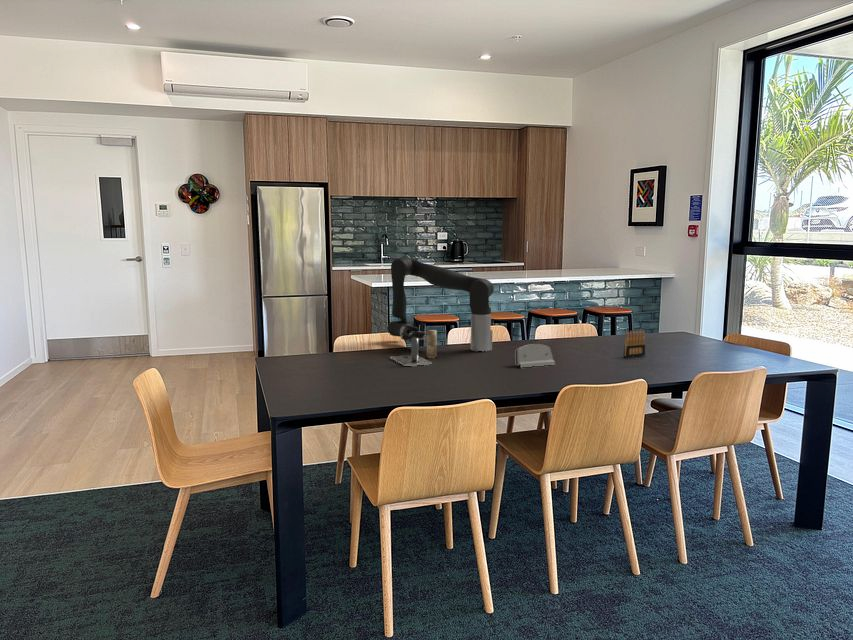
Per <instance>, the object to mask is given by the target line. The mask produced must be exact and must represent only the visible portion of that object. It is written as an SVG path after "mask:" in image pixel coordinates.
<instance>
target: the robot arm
mask: <svg viewBox="0 0 853 640" xmlns="http://www.w3.org/2000/svg"><path fill="white" fill-rule="evenodd" d="M390 273H391V283H392V286H391V288H392V304H391V305H392V306H391V315H392V317H393V318H397V319H400V320H396V321H394V320H392V321H390V322H389V323H388V324H387V327H386V328H387V333H388V334H389V333H390V334H389V336H393V337H398V338H399V337H400V339H402V340H404V341H408V342H410V343H411V338H419V340H427V330H425V331H421V329H420V328H419V327H417V326H415V325H413V324H409V323H408V320H407V303H408V302H407V296H406V291H405V278H406V276H413V277H419V278H421V279H423V280H424V281H426V282H427V283H428V284H430V285H433V286H436V287H439V288H442V289H446V290H452V291H453V290H455V291H464V292H467V293H469V296H468V297H469V308H470V309H469V310H470V351H473V352H478V351H482V352H484V351H485V352H490V351H493V330H492V329H491V328H492V308H491V307H490V303H489V302H490V300H489V298H490V296H492V295H493V293H494V291H495V288H494V285H493V283H492V282H491V281H490V280H489V279H486V278H482V277H474V276H471V275H465V274H463V273H460V272H457V271H454V270H452V269H448V268H444V267H441V266H437V265H433V264H429V263H424V262H421V261H419V260H415V259H414V258H411V257H409V256H402V257H397V258H395V259H394V260H393V261H392V262H391V264H390Z"/></svg>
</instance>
